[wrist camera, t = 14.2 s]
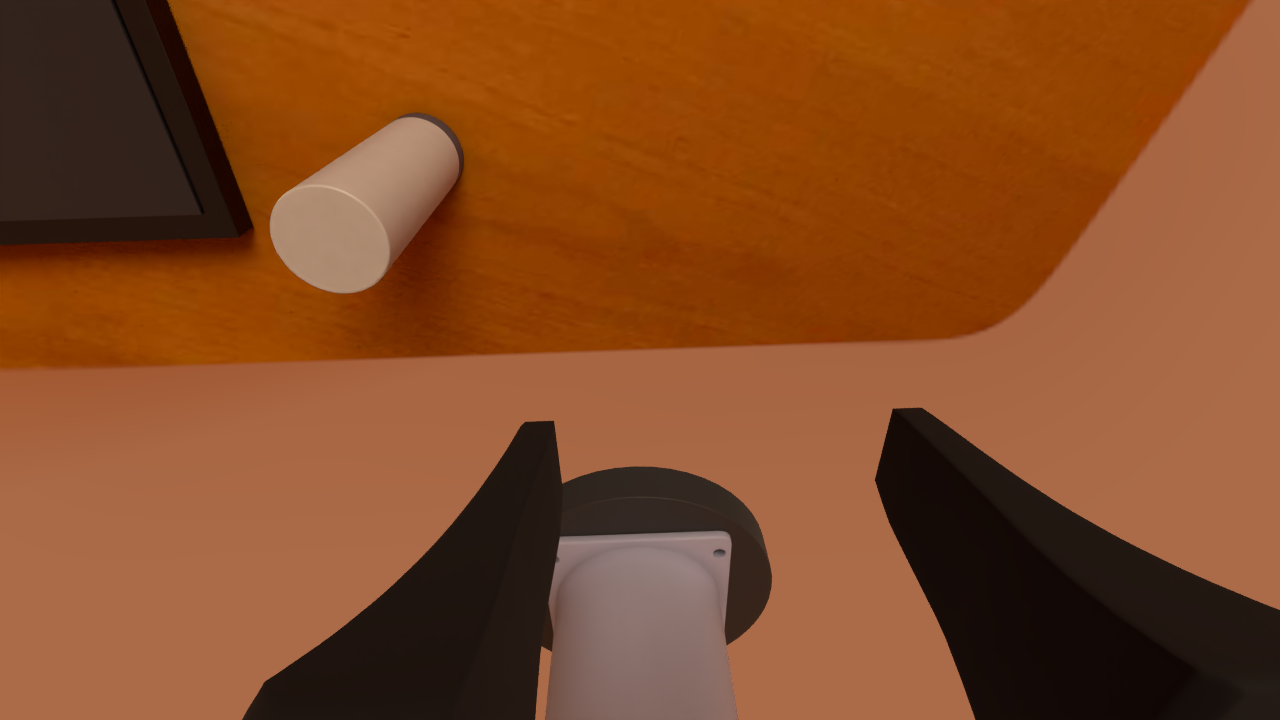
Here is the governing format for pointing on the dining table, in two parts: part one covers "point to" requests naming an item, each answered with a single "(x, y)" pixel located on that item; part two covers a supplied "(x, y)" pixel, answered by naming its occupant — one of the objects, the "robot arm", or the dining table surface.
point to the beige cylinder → (366, 204)
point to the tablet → (106, 128)
